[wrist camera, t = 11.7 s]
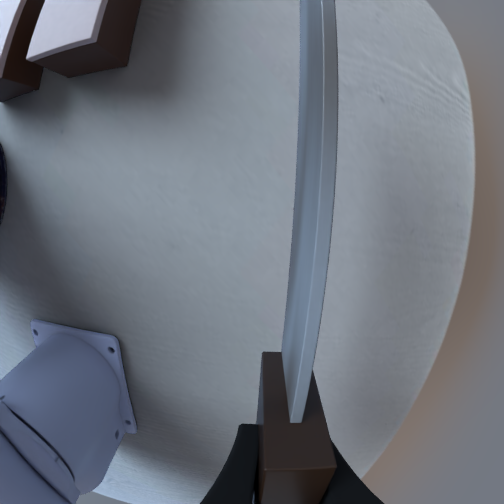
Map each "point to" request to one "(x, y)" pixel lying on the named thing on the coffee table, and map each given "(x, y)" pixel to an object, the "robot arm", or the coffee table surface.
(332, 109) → the knife
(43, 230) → the coffee table surface
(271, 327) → the coffee table surface
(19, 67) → the block
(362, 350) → the coffee table surface
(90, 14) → the cake slice
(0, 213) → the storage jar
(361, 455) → the coffee table surface
